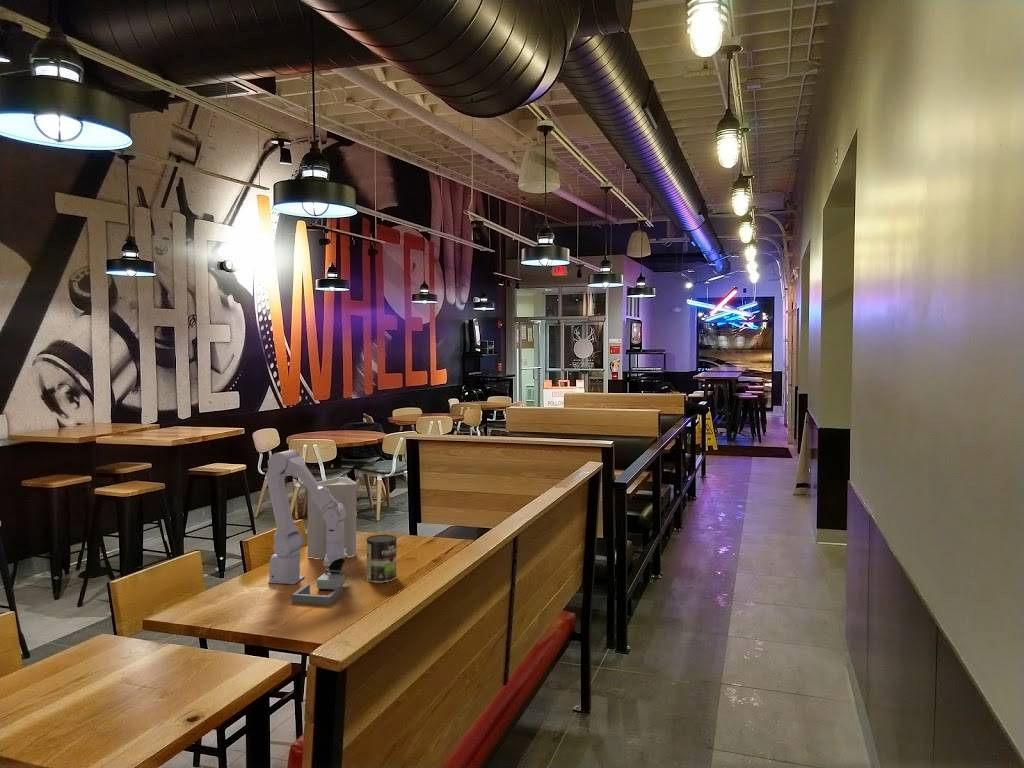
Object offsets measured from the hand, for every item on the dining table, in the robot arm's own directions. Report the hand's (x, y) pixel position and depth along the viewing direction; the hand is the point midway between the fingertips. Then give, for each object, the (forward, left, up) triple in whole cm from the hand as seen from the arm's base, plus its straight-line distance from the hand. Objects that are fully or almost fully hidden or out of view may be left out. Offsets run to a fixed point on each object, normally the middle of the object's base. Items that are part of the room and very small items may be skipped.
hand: (335, 581), depth 230 cm
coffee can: (+13, +9, -1) cm, 16 cm away
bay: (0, -13, -1) cm, 13 cm away
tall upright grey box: (-13, +34, -1) cm, 37 cm away
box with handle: (0, -4, -1) cm, 4 cm away
